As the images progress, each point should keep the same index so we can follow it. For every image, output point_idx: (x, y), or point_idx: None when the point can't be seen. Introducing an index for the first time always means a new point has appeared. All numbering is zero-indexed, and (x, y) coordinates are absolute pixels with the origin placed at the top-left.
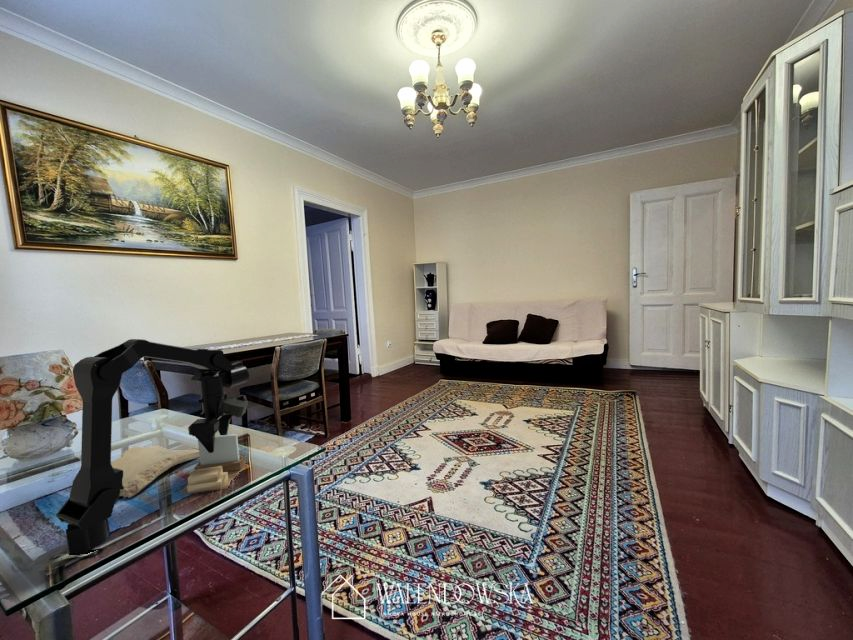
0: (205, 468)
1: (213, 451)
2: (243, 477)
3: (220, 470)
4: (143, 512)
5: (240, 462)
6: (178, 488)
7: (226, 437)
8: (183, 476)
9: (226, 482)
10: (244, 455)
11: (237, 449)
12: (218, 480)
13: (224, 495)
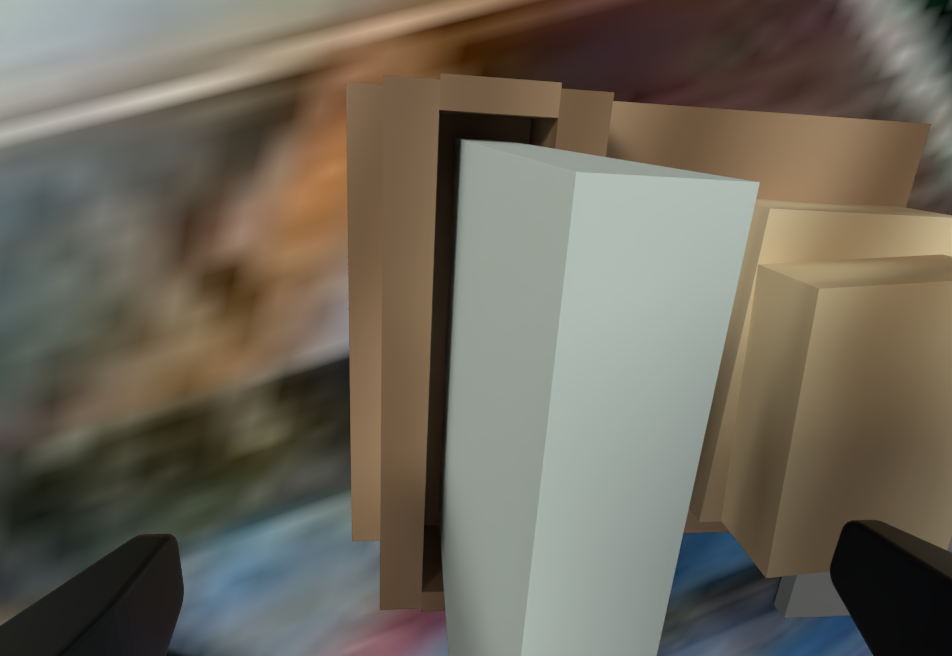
0: (794, 471)
1: (880, 523)
2: (659, 49)
3: (876, 276)
4: (858, 638)
5: (597, 91)
6: None
7: (679, 485)
8: (429, 626)
9: (795, 191)
10: (383, 82)
11: (551, 151)
12: (935, 250)
13: (938, 156)
